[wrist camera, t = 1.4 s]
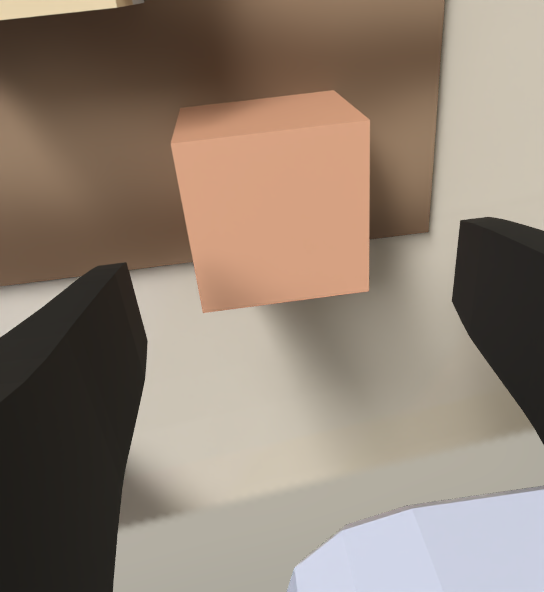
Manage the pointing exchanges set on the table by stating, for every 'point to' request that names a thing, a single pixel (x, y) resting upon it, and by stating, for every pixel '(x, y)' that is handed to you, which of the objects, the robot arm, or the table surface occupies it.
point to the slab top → (53, 7)
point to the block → (275, 198)
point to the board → (187, 93)
